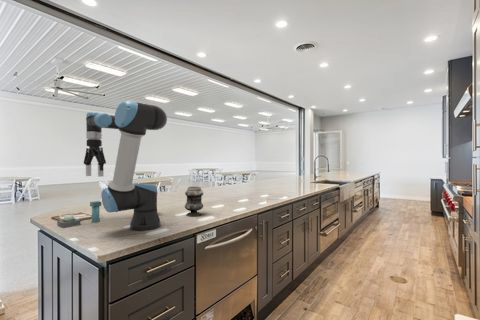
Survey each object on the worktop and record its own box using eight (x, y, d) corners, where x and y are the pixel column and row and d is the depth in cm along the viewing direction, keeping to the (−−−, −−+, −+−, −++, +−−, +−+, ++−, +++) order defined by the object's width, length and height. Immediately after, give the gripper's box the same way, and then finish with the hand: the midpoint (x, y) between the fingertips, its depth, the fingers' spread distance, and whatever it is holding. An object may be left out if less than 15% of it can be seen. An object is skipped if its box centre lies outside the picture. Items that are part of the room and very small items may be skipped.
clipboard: (95, 218, 149) (95, 215, 149) (65, 223, 136) (65, 220, 136) (80, 213, 161) (80, 211, 161) (51, 218, 148) (51, 216, 148)
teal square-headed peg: (101, 221, 142) (101, 201, 142) (93, 222, 138) (93, 202, 138) (97, 220, 144) (97, 200, 144) (90, 221, 141) (90, 202, 140)
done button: (75, 220, 134) (75, 215, 134) (66, 222, 130) (66, 217, 130) (71, 219, 136) (71, 214, 136) (62, 221, 133) (62, 215, 133)
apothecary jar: (201, 217, 153) (201, 188, 153) (182, 216, 153) (182, 188, 153) (204, 212, 165) (204, 186, 165) (187, 212, 165) (187, 186, 165)
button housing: (80, 224, 134) (80, 220, 134) (63, 227, 128) (63, 223, 128) (74, 222, 139) (74, 218, 139) (57, 225, 132) (57, 220, 132)
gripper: (112, 138, 138) (112, 176, 137) (90, 141, 151) (90, 175, 151) (98, 137, 131) (99, 177, 131) (76, 140, 145) (77, 176, 145)
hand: (94, 176), depth 141 cm, fingers open, 13 cm apart
